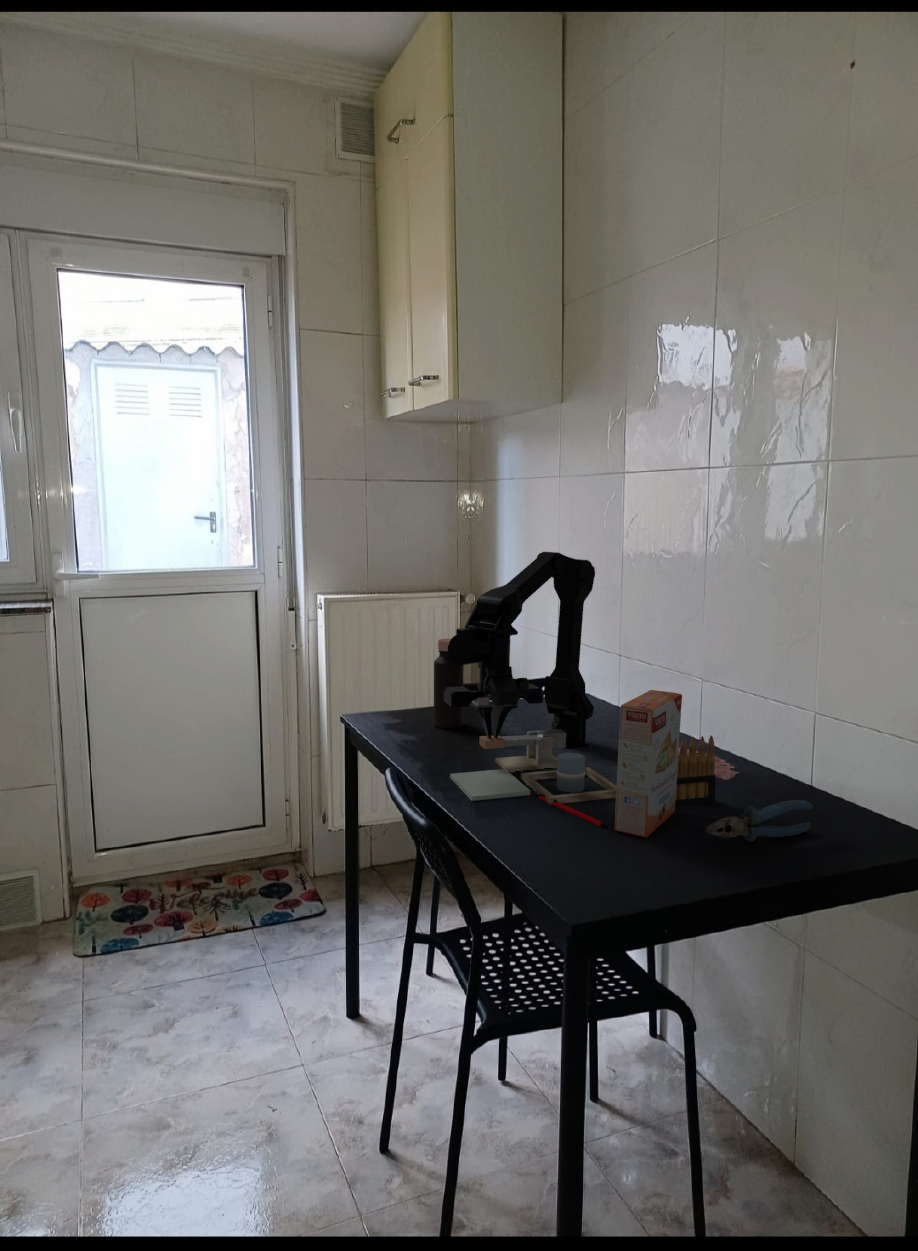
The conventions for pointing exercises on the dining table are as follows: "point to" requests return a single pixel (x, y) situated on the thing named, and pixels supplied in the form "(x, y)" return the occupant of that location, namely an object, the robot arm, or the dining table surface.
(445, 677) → the bottle
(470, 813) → the dining table surface
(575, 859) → the dining table surface
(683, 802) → the ammunition clip
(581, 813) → the pen
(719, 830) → the pliers
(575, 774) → the grey round canister
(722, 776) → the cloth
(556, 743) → the cutter handle
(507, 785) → the pad
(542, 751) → the base
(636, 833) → the cracker box
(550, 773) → the open square beige frame
